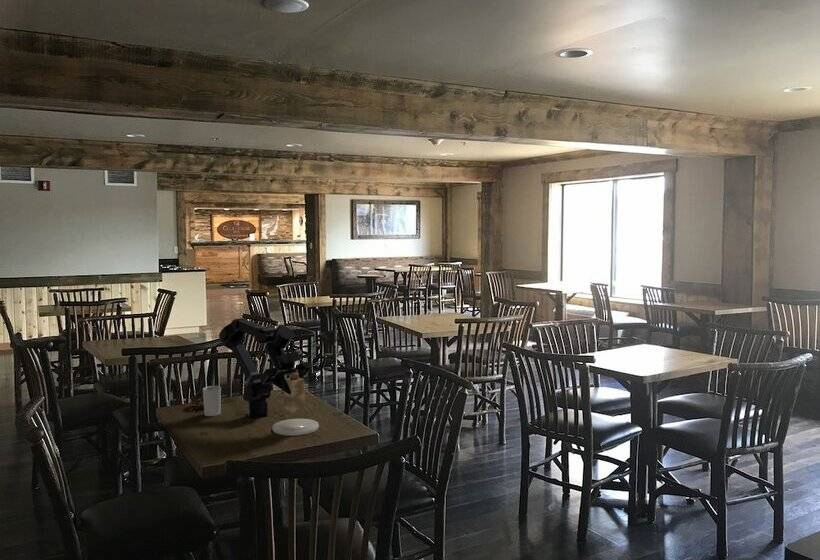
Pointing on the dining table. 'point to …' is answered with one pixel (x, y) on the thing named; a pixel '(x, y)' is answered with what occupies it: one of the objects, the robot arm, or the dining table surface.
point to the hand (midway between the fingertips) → (296, 392)
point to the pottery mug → (198, 395)
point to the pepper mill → (295, 394)
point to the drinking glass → (212, 400)
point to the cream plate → (295, 427)
